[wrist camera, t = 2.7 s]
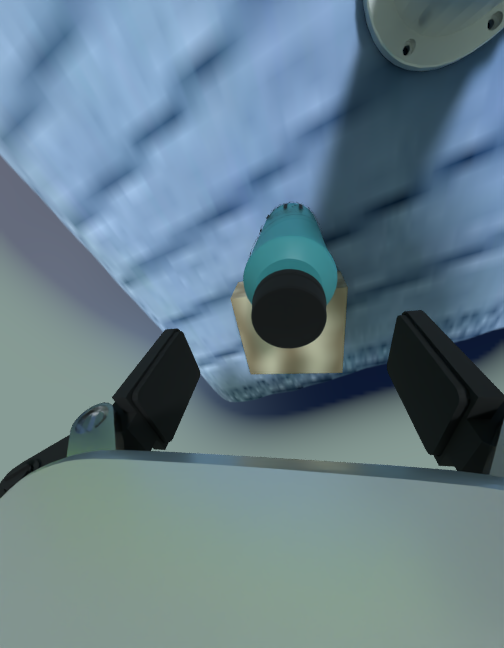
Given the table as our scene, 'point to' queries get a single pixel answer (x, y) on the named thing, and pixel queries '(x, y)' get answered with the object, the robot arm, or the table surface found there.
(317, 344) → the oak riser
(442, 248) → the table surface
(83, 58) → the table surface
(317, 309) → the beverage bottle
